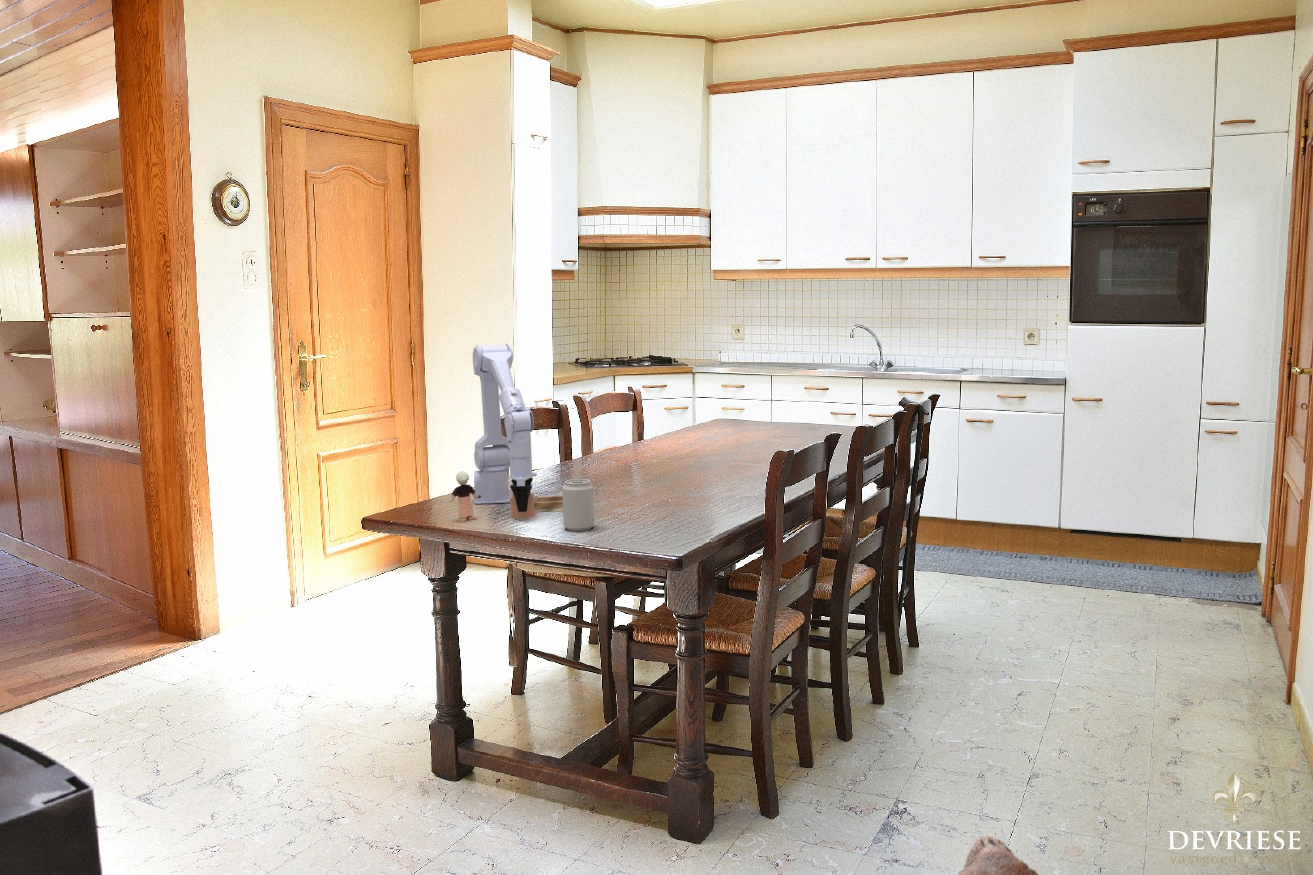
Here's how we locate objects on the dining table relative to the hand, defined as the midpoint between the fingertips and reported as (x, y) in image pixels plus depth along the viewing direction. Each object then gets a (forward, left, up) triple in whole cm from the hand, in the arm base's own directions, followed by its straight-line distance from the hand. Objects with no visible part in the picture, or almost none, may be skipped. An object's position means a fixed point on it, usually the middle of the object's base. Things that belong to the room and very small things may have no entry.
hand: (522, 508), depth 267 cm
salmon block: (0, 0, -2) cm, 2 cm away
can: (+14, -17, -2) cm, 22 cm away
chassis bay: (+8, +9, -2) cm, 12 cm away
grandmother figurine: (-15, -1, -2) cm, 15 cm away
